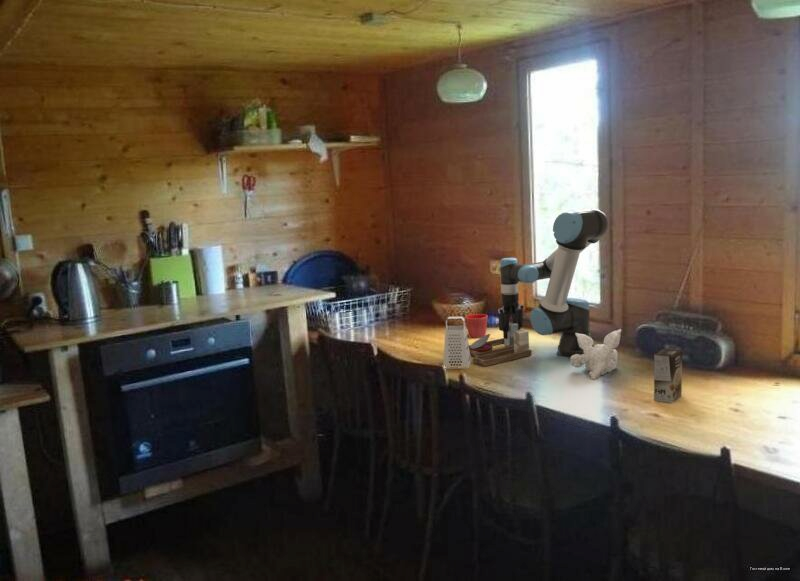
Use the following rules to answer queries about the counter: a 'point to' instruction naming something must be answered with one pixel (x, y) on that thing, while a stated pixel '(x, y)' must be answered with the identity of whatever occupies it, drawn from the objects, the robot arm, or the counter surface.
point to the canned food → (481, 345)
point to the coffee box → (667, 375)
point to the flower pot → (476, 325)
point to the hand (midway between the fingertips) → (511, 344)
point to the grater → (456, 345)
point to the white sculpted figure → (597, 354)
